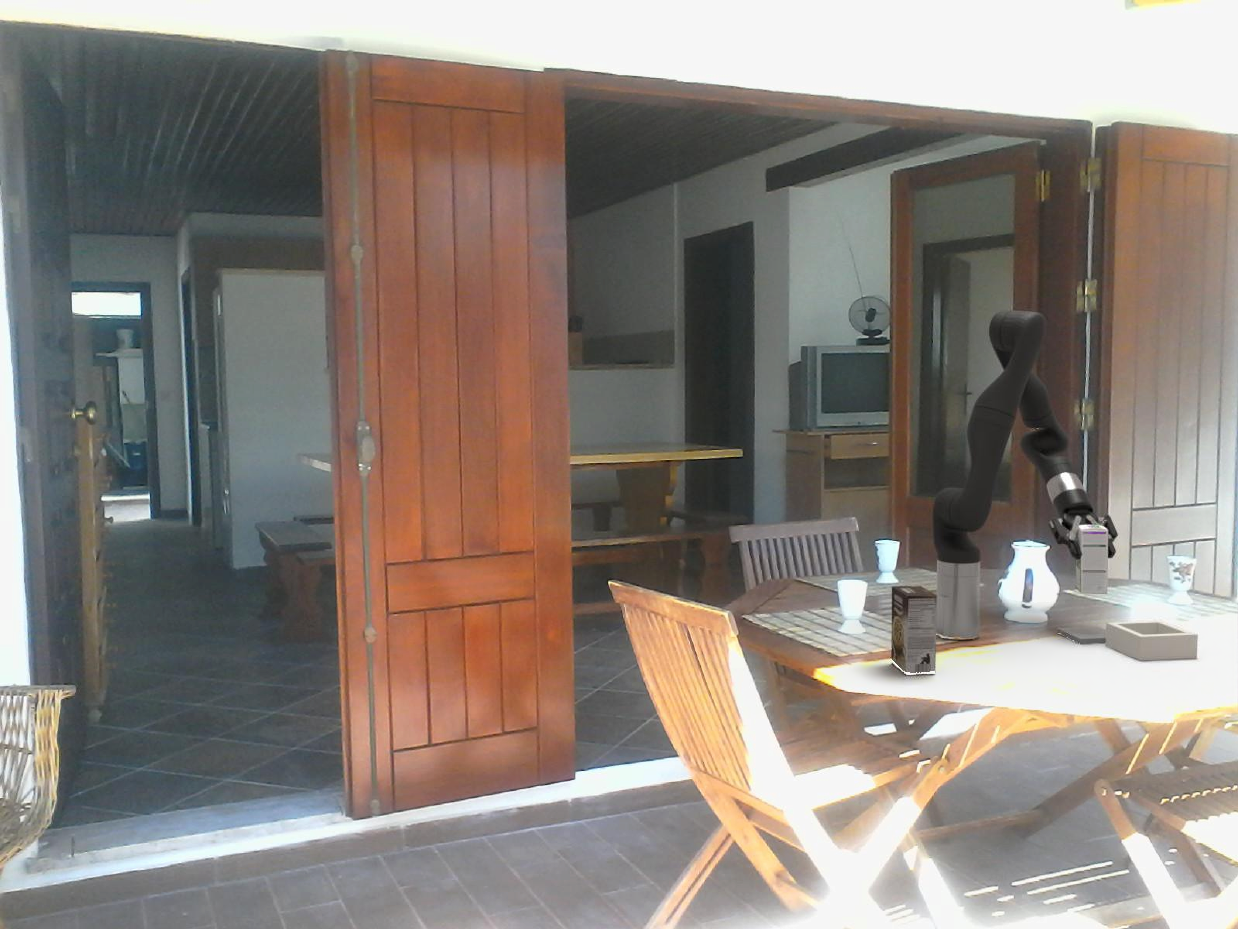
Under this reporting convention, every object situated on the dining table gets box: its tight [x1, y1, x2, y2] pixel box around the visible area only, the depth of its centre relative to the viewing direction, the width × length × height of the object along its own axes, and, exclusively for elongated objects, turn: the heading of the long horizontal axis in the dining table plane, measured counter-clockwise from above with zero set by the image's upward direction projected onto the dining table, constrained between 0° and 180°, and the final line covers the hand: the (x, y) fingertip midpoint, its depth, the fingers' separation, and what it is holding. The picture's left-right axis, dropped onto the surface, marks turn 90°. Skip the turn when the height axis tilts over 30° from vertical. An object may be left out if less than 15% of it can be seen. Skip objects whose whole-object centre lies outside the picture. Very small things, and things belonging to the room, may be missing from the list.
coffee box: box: [890, 585, 937, 673], centre depth 217 cm, size 9×6×16 cm
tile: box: [1056, 625, 1106, 645], centre depth 241 cm, size 10×10×1 cm
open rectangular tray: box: [1105, 620, 1199, 662], centre depth 228 cm, size 12×12×5 cm
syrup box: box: [1075, 525, 1109, 595], centre depth 239 cm, size 6×6×14 cm
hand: (1095, 556), depth 238 cm, fingers closed on syrup box, 7 cm apart
